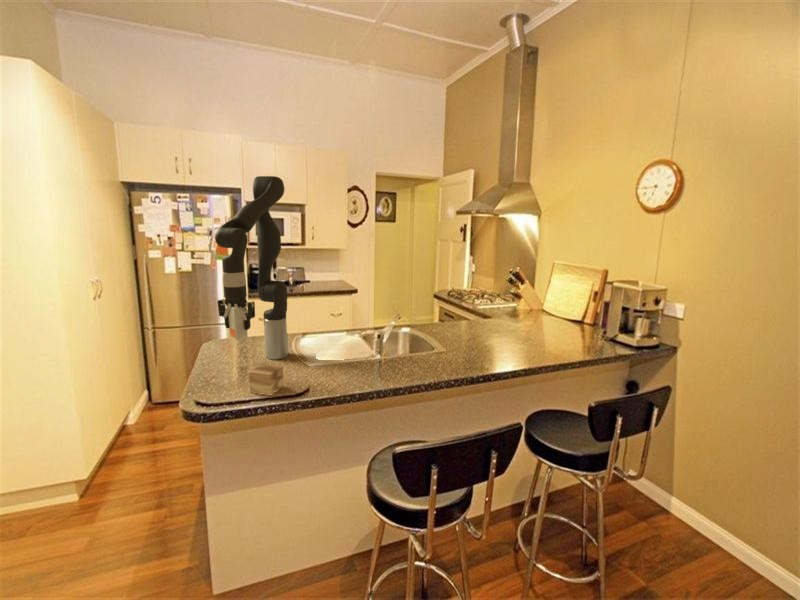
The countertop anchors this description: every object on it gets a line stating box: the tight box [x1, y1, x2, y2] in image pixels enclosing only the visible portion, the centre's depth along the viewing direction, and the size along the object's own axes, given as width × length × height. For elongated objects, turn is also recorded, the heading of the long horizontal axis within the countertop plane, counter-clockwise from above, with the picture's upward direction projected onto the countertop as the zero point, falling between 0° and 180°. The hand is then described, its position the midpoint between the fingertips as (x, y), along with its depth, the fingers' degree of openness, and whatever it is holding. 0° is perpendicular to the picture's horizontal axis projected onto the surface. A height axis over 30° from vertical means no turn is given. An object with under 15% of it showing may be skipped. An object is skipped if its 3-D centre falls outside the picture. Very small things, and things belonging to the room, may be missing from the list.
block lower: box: [249, 377, 284, 394], centre depth 140 cm, size 8×8×4 cm
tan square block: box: [248, 363, 284, 386], centre depth 139 cm, size 8×8×4 cm
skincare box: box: [228, 306, 248, 341], centre depth 145 cm, size 6×4×12 cm
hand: (237, 328), depth 146 cm, fingers closed on skincare box, 7 cm apart
